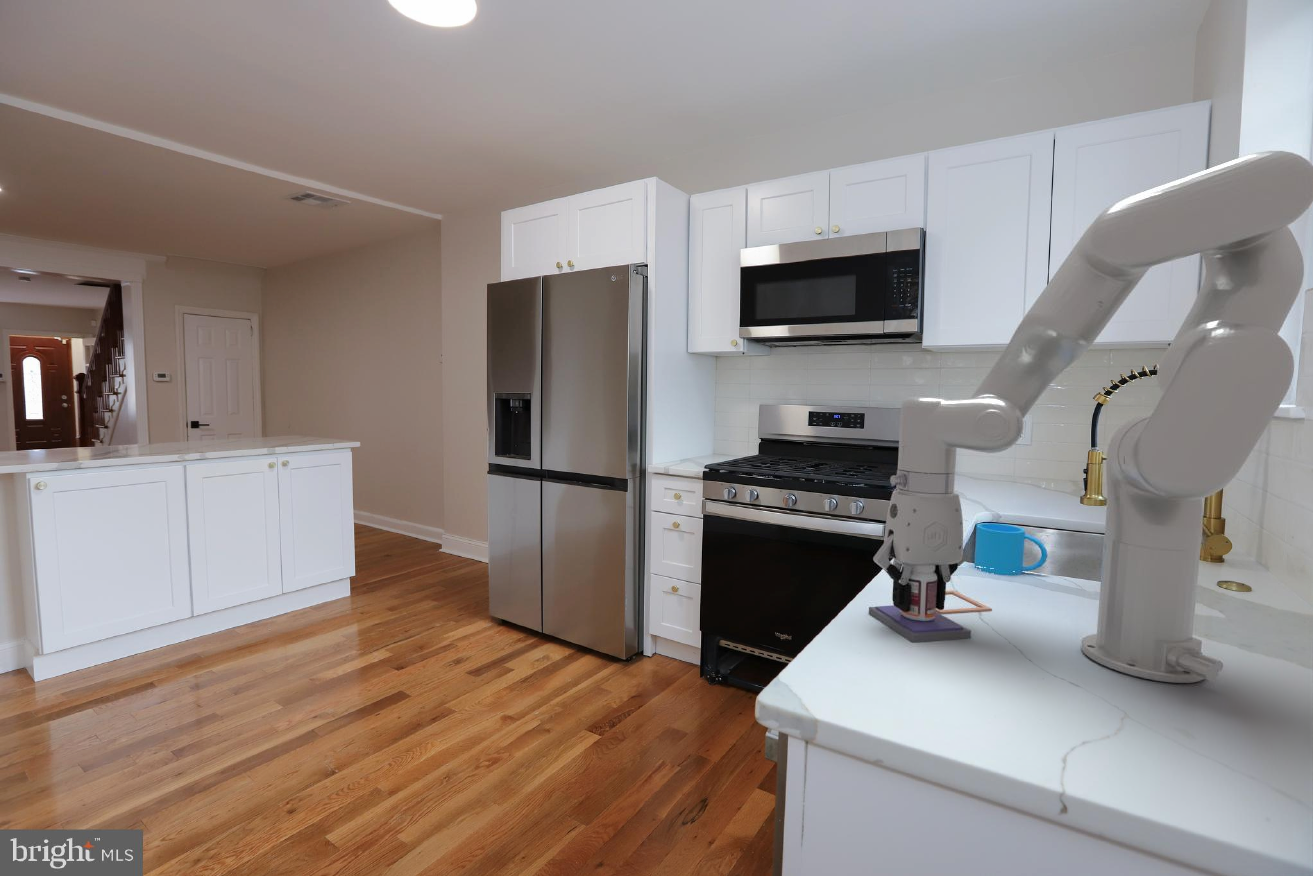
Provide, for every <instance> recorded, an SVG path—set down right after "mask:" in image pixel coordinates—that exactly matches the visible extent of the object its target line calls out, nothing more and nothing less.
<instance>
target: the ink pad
mask: <svg viewBox="0 0 1313 876" xmlns="http://www.w3.org/2000/svg"><path fill="white" fill-rule="evenodd" d="M868 614H869V615H870V616H871V617H873V618H874V619H876V620H878V621H879V622H880V623H882V624H884V625H886V626H887V627H889V628H890V629H892V630H893V631H894V632H896V633H898V634H899V635H900V636H902V637H904V638H905V639H907V640H909V642H911V643H922V642H935V641H948V640H949V641H950V640H963V639H971V635H972V631H971V630H970V629H968V628H966V627H965V626H963V625H961V624H959V623H958V622H955V621H953V620H951V619H950V618H948V617H946V616H944V614H940V613H938V612H936V614H935V618H934V619H933V620H930V621H918V620H912V619H909V618H906V617H904V616H903V615H902V614H901V611H900V609H899V608H897V607H895V606H894V605H893V604H892V605H882V606H881V605H879V606H869V607H868Z"/></svg>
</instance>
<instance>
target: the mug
mask: <svg viewBox="0 0 1313 876" xmlns="http://www.w3.org/2000/svg"><path fill="white" fill-rule="evenodd" d="M975 534H976V535H975V549H974V550H975V551H974V564H973V565H975V567H974V568H975V569H976V568H977V569H976V570H978V569H981V571H980V572H983V573H987V572H988V573H987V574H991V573H994V574H993V575H998V576H1006V575H1007V576H1008V577H1009V576H1010V577H1013V576H1020V575H1022V574H1023V572H1029V571H1035V570H1036V569H1039V568H1041V567H1042V566H1043V565H1044V564H1045V563H1046V561H1047V559H1048V551H1047V548H1046V547H1045V545H1044V544H1043V542H1041V540H1039V539H1038V538H1036V537H1033V536H1032V535H1029V534H1026V530H1025V529H1024V528H1022V527H1019V526H1016V525H1015V526H1014V525H1010V524H1005V523H995V522H994V523H990V522H989V523H988V522H985V523H982V522H981V523H978V524H977V525H976V533H975ZM1026 540H1028V541H1031V542H1033V543H1034V544H1035V545H1036V546H1037V547H1038V548H1039V549H1040V553H1041V557H1040V559H1039V560H1038V561H1037V562H1036V563H1035V564H1032V565H1028V566H1024V555H1025V553H1024V552H1025V541H1026ZM976 566H981V567H983V568H979V567H976ZM984 567H986V568H984ZM990 568H994V569H990ZM1013 571H1015V572H1013Z"/></svg>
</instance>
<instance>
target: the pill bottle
mask: <svg viewBox="0 0 1313 876" xmlns="http://www.w3.org/2000/svg"><path fill="white" fill-rule="evenodd" d="M934 571H935V565H923V566H912V569H911V573H910V576H909V579H908V582H907V583H908V584H910V585H911V602H910V611H909V612H904V611H902V610H900V611H901V614H902V615H903V616H904V617H906V618H909V619H912V620H918V621H930V620H933V619H934V618H935V614H936V594H937V575H936V574H935V573H934Z"/></svg>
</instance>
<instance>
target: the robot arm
mask: <svg viewBox="0 0 1313 876" xmlns="http://www.w3.org/2000/svg"><path fill="white" fill-rule="evenodd" d="M1312 203H1313V164H1312V163H1311V162H1310V161H1309V160H1308V159H1306V158H1305V157H1303V156H1302V155H1299V154H1296V153H1294V152H1291V151H1284V150H1268V151H1267V150H1266V151H1259V152H1255V153H1251V154H1247V155H1244V156H1240V157H1238V158H1235V159H1233V160H1229V161H1226V162H1224V163H1221V164H1218V165H1215V166H1213V167H1210V168H1207V169H1204V170H1202V171H1198V172H1196V173H1193V174H1190V175H1187V176H1184V177H1182V178H1179V179H1176V180H1173V181H1170V182H1168V183H1164V184H1161V185H1159V186H1156V187H1154V188H1151V189H1148V190H1147V189H1146V190H1145V191H1142V192H1139V193H1137V194H1136V193H1135V194H1133V195H1130V196H1128V197H1126V198H1123V199H1121V200H1118V201H1117V202H1115V203H1112V204H1111V205H1109V206H1108V207H1106V208H1105V209H1104V210H1103V211H1102V212H1101V213H1100V214H1099V215H1098V216H1097V217H1096V218H1095V220H1093V222H1092V223H1091V224H1090V225H1089V227H1087V229H1086V230H1085V231H1084V232H1083V234H1082V236H1081V237H1080V238H1079V240H1077V243H1076V244H1075V245H1074V246H1073V248H1072V250H1071V251H1070V252H1069V254H1068V255H1067V257H1066V258H1065V259H1064V261H1063V262H1062V264H1061V265H1060V266H1059V268H1058V269H1057V270H1056V272H1055V273H1054V275H1053V276H1052V278H1051V279H1050V280H1049V282H1048V283H1047V284H1046V286H1045V288H1043V290H1042V291H1041V293H1040V295H1039V296H1038V297H1037V299H1036V300H1035V301H1034V303H1033V304H1032V306H1031V307H1030V308H1029V310H1028V311H1027V312H1026V314H1025V315H1024V317H1023V319H1022V320H1021V321H1020V323H1019V324H1018V326H1017V328H1016V329H1015V330H1014V333H1013V334H1012V336H1011V338H1010V340H1009V342H1008V344H1007V345H1006V347H1005V348H1004V349H1003V352H1002V353H1001V355H1000V356H999V358H998V359H997V360H996V362H995V363H994V365H993V366H992V367H991V368H990V370H989V372H988V373H987V375H986V376H985V377H984V379H983V380H982V381H981V383H980V384H979V386H977V389H976V390H975V391H974V393H973V394H972V395H971V397H970V398H963V399H959V398H958V399H955V398H954V399H953V398H951V397H947V396H923V395H922V396H921V395H920V396H917V395H916V396H909V397H906V398H905V399H904V400H903V401H902V403H901V407H900V420H899V437H898V440H899V441H898V459H897V460H898V461H897V470H896V475H891V476H890V479H889V481H890V484H891V485H892V486H896V490H893V491H892V494H891V497H890V502H889V506H888V509H887V515H886V520H885V529H884V541H883V544H882V545H881V547H880V548H879V549H878V550H877V552H876V553H875V555H874V556H873V558H872V559H873V561H874V563H876V564H877V565H878V566H879V567H880V568H882V569H883V570H884V571H885V572H886V574H887V575H888V576H889V579H891V580H893V582H892V605H894V606H895V607H897V608H899V609H900V610H902V611H904V612H909V611H910V602H911V585H910V584H908V583H907V582H908V579H909V576H910V573H911V569H912V566H923V565H935V571H934V573H935V574H936V575H937V594H936V608H937V609H939V610H945V601H946V594H945V593H946V591H947V583H949V582H950V581H951V579H952V578H951V577H952V576H953V574H954V573H955V572H956V571H957V570H958V568H959V567H960V566H961V565H962V564H964V562H966V561H967V560H968V554H967V552H966V550H965V549H964V520H963V510H962V504H961V499H960V495H959V493H956V492H955V480H956V479H955V477H956V465H957V464H956V460H957V449H961V450H968V451H973V452H978V453H979V452H980V453H986V454H994V453H995V454H996V453H1000V452H1004V451H1007V450H1008V449H1010V448H1012V447H1013V446H1014V445H1016V444H1017V442H1018V441H1019V440H1020V438H1021V437H1022V434H1023V431H1024V419H1025V417H1026V416H1027V415H1028V413H1029V412H1030V411H1031V409H1032V407H1033V406H1034V405H1035V404H1036V403H1037V401H1038V400H1039V399H1040V397H1041V396H1042V395H1043V394H1044V393H1045V392H1046V390H1047V389H1048V387H1049V386H1050V385H1051V384H1053V382H1054V381H1055V380H1056V378H1058V377H1059V376H1060V374H1062V373H1063V372H1065V370H1067V369H1068V368H1069V367H1071V365H1073V364H1074V363H1076V362H1077V361H1078V360H1079V359H1080V358H1081V357H1082V356H1083V355H1084V354H1085V353H1086V352H1087V351H1088V350H1089V348H1091V347H1092V345H1093V344H1094V343H1095V341H1096V340H1097V338H1098V337H1099V336H1100V335H1101V333H1102V331H1104V329H1105V328H1106V326H1107V325H1108V323H1109V322H1110V321H1111V319H1112V318H1113V317H1114V316H1115V314H1116V312H1118V310H1119V308H1120V307H1122V305H1123V303H1124V302H1125V301H1126V300H1127V299H1128V297H1129V296H1130V294H1131V293H1132V292H1133V291H1134V289H1135V288H1136V287H1137V285H1139V283H1140V281H1141V280H1142V279H1143V278H1144V276H1145V275H1146V273H1147V272H1148V271H1149V270H1150V268H1152V267H1154V266H1157V265H1161V264H1164V263H1168V262H1172V261H1176V260H1179V259H1182V258H1187V257H1190V256H1193V255H1196V254H1200V255H1201V257H1202V259H1203V262H1204V265H1205V266H1204V267H1205V274H1204V275H1205V276H1204V280H1203V282H1202V286H1201V287H1200V290H1199V292H1198V294H1197V296H1196V298H1195V300H1194V303H1193V305H1192V307H1190V308H1191V309H1190V310H1189V312H1188V314H1187V315H1186V317H1185V318H1184V321H1183V322H1182V324H1181V325H1180V328H1179V329H1178V331H1177V333H1176V335H1175V336H1174V338H1173V340H1172V342H1171V343H1170V345H1169V346H1168V347H1167V349H1166V350H1165V352H1164V354H1163V355H1162V357H1161V360H1160V362H1159V364H1158V367H1157V372H1156V380H1157V385H1158V387H1159V389H1160V391H1162V396H1161V397H1160V399H1159V401H1158V403H1157V404H1156V406H1155V408H1154V410H1153V412H1152V413H1147V414H1141V415H1138V416H1135V417H1133V418H1131V419H1129V420H1128V421H1125V422H1124V423H1123V424H1121V425H1120V427H1118V428H1117V429H1116V430H1115V432H1114V433H1113V434H1112V437H1111V438H1110V441H1109V443H1108V445H1107V446H1108V447H1107V450H1106V457H1105V458H1106V459H1105V467H1106V468H1105V471H1106V511H1105V512H1106V513H1105V526H1104V537H1103V551H1102V561H1101V562H1102V563H1101V573H1100V574H1101V575H1100V576H1101V577H1100V589H1099V599H1098V600H1099V602H1098V613H1097V625H1096V626H1097V627H1096V633H1094V634H1089V635H1087V636H1085V637H1083V638H1082V640H1081V648H1080V649H1081V650H1082V652H1083V653H1084V654H1085V655H1086V656H1087V657H1088V658H1090V659H1091V660H1092V661H1095V662H1096V663H1098V664H1100V665H1102V666H1104V667H1106V668H1109V669H1112V670H1114V671H1118V672H1120V673H1123V674H1127V675H1130V676H1133V677H1136V678H1137V677H1139V678H1141V679H1147V680H1151V681H1157V682H1163V683H1174V684H1175V683H1176V684H1191V683H1197V682H1200V681H1203V680H1206V681H1210V682H1214V681H1215V680H1216V679H1217V678H1218V677H1219V674H1220V672H1221V671H1222V670H1223V668H1224V663H1223V661H1221V660H1218V659H1217V658H1214V657H1211V656H1207V655H1204V654H1203V652H1202V647H1203V646H1202V645H1203V640H1200V639H1198V638H1195V637H1194V635H1193V634H1194V626H1195V625H1194V624H1195V614H1196V603H1197V602H1196V601H1197V591H1198V581H1199V579H1198V578H1199V569H1200V557H1201V549H1202V541H1203V528H1204V527H1203V525H1204V521H1203V519H1204V518H1203V516H1204V513H1203V512H1204V511H1203V499H1206V498H1208V497H1211V496H1213V495H1215V494H1217V493H1218V492H1220V491H1221V490H1223V489H1224V488H1225V487H1226V486H1228V484H1230V482H1231V481H1232V480H1233V479H1234V478H1235V477H1236V476H1237V475H1238V473H1239V472H1240V471H1241V469H1242V467H1243V466H1244V464H1245V463H1246V461H1247V460H1248V458H1249V456H1250V455H1251V453H1252V452H1253V450H1254V448H1255V447H1256V445H1257V444H1258V442H1259V440H1260V439H1261V437H1262V436H1263V434H1264V433H1265V430H1266V429H1267V427H1268V426H1269V424H1270V423H1271V421H1272V419H1273V417H1274V416H1275V414H1276V412H1277V411H1278V409H1279V408H1280V406H1281V405H1282V403H1283V401H1284V399H1285V397H1286V395H1287V393H1288V392H1289V389H1290V387H1291V385H1292V382H1293V377H1294V372H1295V371H1294V370H1295V360H1294V356H1293V353H1292V350H1291V348H1290V346H1289V344H1288V343H1287V342H1286V340H1285V339H1284V338H1283V337H1281V336H1280V332H1281V329H1282V327H1283V325H1284V324H1285V321H1286V319H1287V318H1288V315H1289V313H1290V311H1291V309H1292V307H1293V306H1294V304H1295V302H1296V300H1297V298H1298V295H1299V294H1300V291H1301V288H1302V285H1303V281H1304V277H1305V276H1304V274H1305V265H1304V259H1303V254H1302V251H1301V248H1300V246H1299V244H1298V241H1297V240H1296V238H1295V235H1294V234H1293V231H1292V230H1291V229H1290V228H1289V226H1290V225H1291V224H1293V223H1294V222H1296V221H1297V220H1298V219H1299V218H1300V217H1301V216H1302V215H1303V214H1305V212H1306V211H1307V210H1308V209H1310V207H1311V205H1312ZM889 559H893V562H891V561H890V560H889Z"/></svg>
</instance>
